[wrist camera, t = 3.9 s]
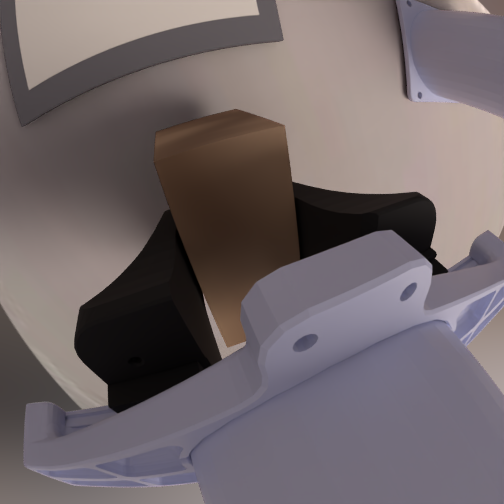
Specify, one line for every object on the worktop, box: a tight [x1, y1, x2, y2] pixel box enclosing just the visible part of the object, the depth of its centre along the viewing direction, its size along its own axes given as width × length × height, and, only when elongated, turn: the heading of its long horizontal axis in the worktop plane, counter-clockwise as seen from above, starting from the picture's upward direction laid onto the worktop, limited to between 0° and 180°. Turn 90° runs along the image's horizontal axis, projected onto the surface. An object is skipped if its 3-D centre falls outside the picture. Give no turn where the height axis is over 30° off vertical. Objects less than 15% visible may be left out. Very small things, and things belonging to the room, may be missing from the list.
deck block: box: [154, 109, 300, 348], centre depth 11 cm, size 4×8×5 cm, turn 10°
